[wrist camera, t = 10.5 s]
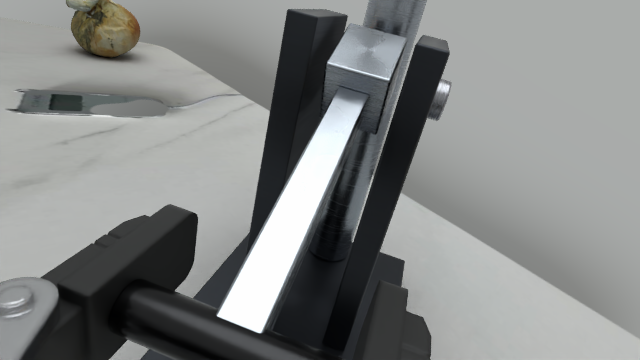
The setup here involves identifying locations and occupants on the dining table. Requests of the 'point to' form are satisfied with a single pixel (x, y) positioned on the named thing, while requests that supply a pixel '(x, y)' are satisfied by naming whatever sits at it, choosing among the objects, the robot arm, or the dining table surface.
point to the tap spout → (364, 139)
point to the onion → (103, 27)
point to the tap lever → (274, 227)
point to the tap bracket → (364, 254)
